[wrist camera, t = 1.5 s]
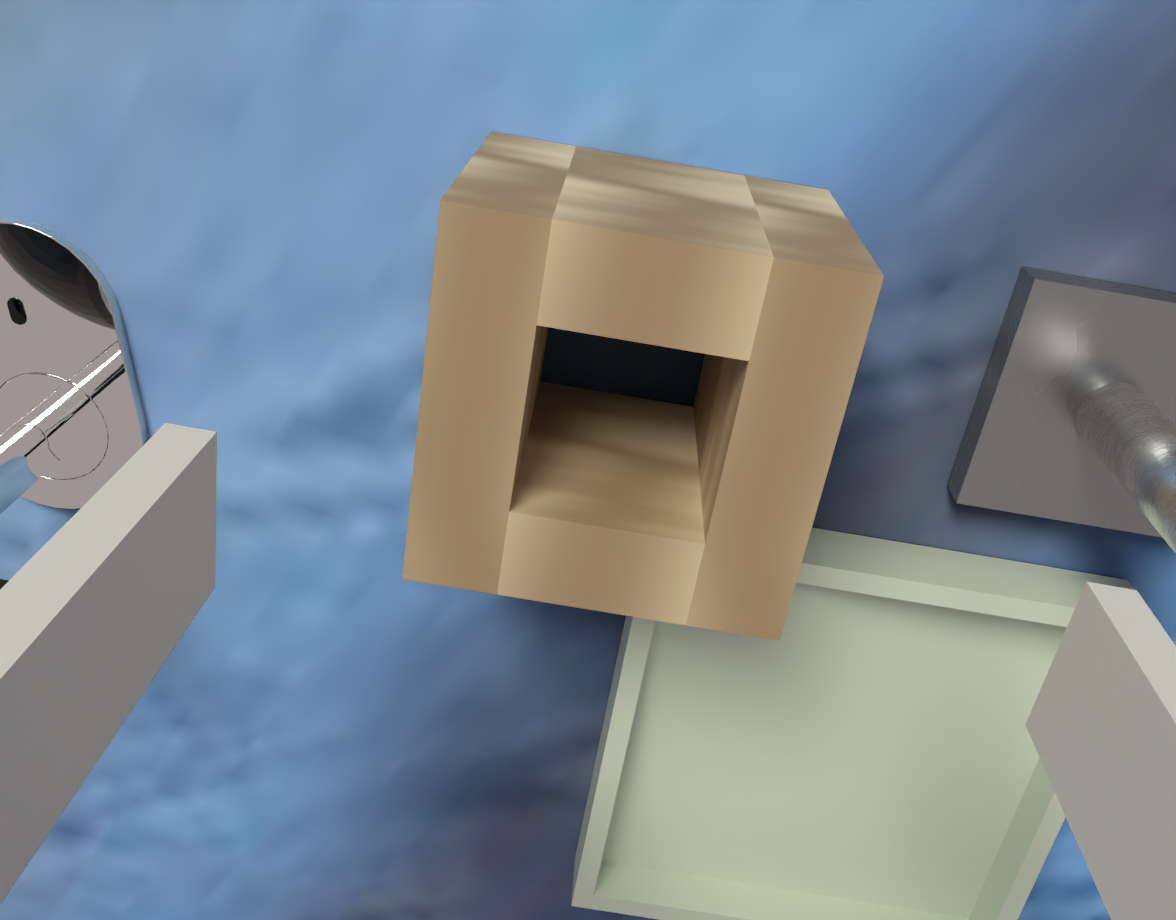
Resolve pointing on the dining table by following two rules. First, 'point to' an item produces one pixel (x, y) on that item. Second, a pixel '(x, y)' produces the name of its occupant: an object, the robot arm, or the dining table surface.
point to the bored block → (623, 423)
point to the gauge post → (1077, 408)
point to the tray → (835, 747)
